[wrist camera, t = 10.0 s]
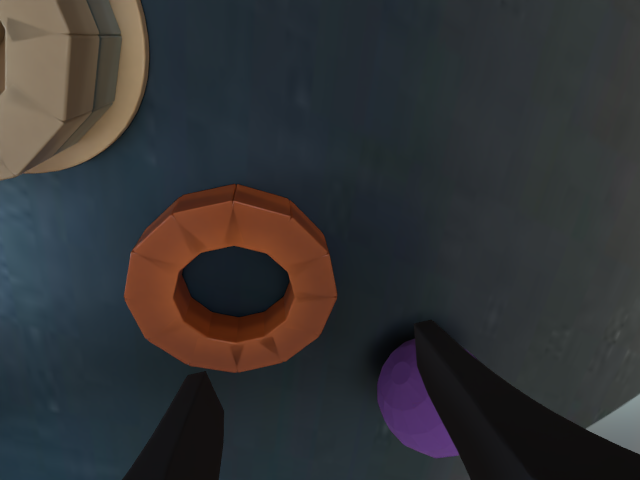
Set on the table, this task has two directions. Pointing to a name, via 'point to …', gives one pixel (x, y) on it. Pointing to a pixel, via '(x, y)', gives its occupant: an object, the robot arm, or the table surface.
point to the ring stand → (67, 80)
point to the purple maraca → (411, 405)
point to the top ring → (219, 232)
